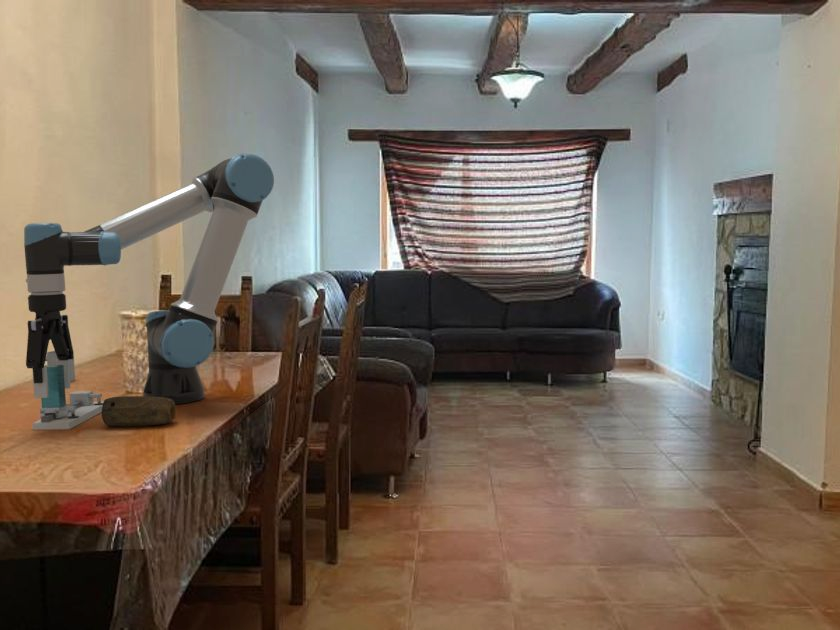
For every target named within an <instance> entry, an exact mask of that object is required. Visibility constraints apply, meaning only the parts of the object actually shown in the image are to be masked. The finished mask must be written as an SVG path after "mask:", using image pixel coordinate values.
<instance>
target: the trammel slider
mask: <svg viewBox="0 0 840 630" xmlns="http://www.w3.org/2000/svg"><path fill="white" fill-rule="evenodd" d="M44 368H47V381H48V396H49V397H48V398H40V401H41V402H40V403H41V407H39V413H40V418H41V417H42V416H44V415H47V414H49V413H55V418H62V417H64V416H66V415H68V411H69V410H71V415H72V416H75V410H76V406H68V403H67V399H66V389H65V381H64V365H47V364H46V365H45V364H44Z"/></svg>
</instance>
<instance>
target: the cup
mask: <svg viewBox="0 0 840 630" xmlns="http://www.w3.org/2000/svg"><path fill="white" fill-rule="evenodd" d="M73 353H74V350H73ZM74 355H75V353H74V354H73V359H68V360H69V371H70V383H73V382H75V380H76V371H75V370H76V369H75V356H74ZM56 360H58V358H57V355H56V352H55V350H53V351H47V354H46V359H45V362H47V363H46V365H56Z"/></svg>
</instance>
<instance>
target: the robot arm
mask: <svg viewBox="0 0 840 630" xmlns="http://www.w3.org/2000/svg"><path fill="white" fill-rule="evenodd" d="M274 177H275V176H274V174H273V170H272V168H271V166H270V164H268V162H267V161H266V160H265V159H264V158H262V157H260V156H259V155H257V154H253V153H239V154H236V155H234V156H233V157H231V158H228V159H227V158H226V159H225V160H223V161H221V162H219V163H217V164H216V165H215V166H213V167H212V168H210V169H208V170H207V171H205V172H204V173H201V174H200V175H198V176H196V177H194V178H193V179H192V181H191V183H190V184H187V185H186V186H182V187H181V188H179V189H176V190H173V191H172V192H169V193H167V194H165V195H163V196H161V197H158V198H157V199H154V200H152V201H149V202H147V203H144V204H143V205H141V206H138V207H136V208H134V209H131V210H130V211H127V212H125V213H123V214H121V215H118V216H115V217H114V218H112V219H109V220H108V221H104V222H102V223H100V224H98V225H97V226H94V227H92V228H90V229H87V230H84V231H79V232H78V231H75V232H74V231H73V232H69V231H63V229H62V228H63V227H62V225H61V224H60V223H58V222H57V223H56V222H55V223H54V222H52V223H51V222H49V223H47V222H42V223H41V222H38V223H37V222H34V223H32V222H31V223H27V224H26V225H25V226H24V229H23V233H24V234H23V235H24V236H23V237H24V238H23V239H24V240H23V241H24V244H23V246H24V247H23V248H24V257H25V270H26V279H25V282H26V283H27V292H28V293H30V295H28V296H27V300H28V301H27V303H28V311H30V312H31V313H35V318H34V320H27V331H28V332H27V344H26V356H25V357H26V358H25V359H26V360H25V366H26V368H27V369H32V382H33V397H34V399H41V398H48V397H49V396H48V381H47V368H44V366H45V364H46V361H45V359H46V356H47V352H48V348H49V344H50V341H51V344H52V346H53V351H55V352H56V355H57V358H58V360H56V365H64V381H65V390H67V389H71V382H70V371H69V360H68V359H73V354H74V355H75V353H73V351H74V349H73V342H72V337H71V334H70V329H69V328H70V327H69V316H68V314H61V312H62V311H66V309H67V297H66V296H67V295H66V294H65V293H64V292H65V291H66V283H65V282H66V281H65V267H66V266H69V267H73V266H108V265H109V266H110V265H118V264H119V263H120V261H121V258H122V257H121V255H122V250H124V249H125V248H128V247H130V246H132V245H135V244H136V243H138V242H141V241H143V240H145V239H147V238H150V237H151V236H154V235H156V234H158V233H160V232H163V231H165V230H166V229H169V228H171V227H173V226H175V225H177V224H180V223H181V222H184V221H186V220H188V219H190V218H193V217H194V216H195V217H196V216H197V215H199V214H202V213H203V212H208V213H212V214H211V216H210V218H209V221H208V224H207V226H206V230H205V232H204V235H203V237H202V240H201V242H200V245H199V248H198V251H197V253H196V255H195V259H194V262H193V264H192V267H191V270H190V272H189V273H188V277H187V279H186V283H185V284H184V288H183V289H182V293H181V295H180V298H179V299H178V300H176V301H174V302H172V303H171V304H170V305H169V308H168V309H167V310H166V309H165V310H163V309H162V310H154V311H151V312H148V313H147V314H146V320H145V321H146V322H145V327H146V338H147V339H146V340H147V358H148V360H147V361H148V373H147V378H146V380H145V384H144V387H143V391H142V396H151V397H164V398H169V399H172V400H173V401H174V402H175V405H181V404H188V403H193V402H197V401H200V400H202V399H204V398H205V396H206V395H205V387H204V385H203V383H202V380H201V377H200V375H199V374H200V373H199V372H198V369H197V366H200V365H201V364H203V363H204V362H205V361H206V360H207V359H209V357H210V356H211V354H212V353H213V349H214V345H215V340H214V339H215V338H214V333H215V329H216V327H217V324H218V321H219V320H218V317H217V315H216V312H215V311H216V308H217V305H218V303H219V301H220V299H221V295H222V292H223V290H224V287H225V284H226V282H227V279H228V276H229V274H230V271H231V268H232V266H233V263H234V261H235V258H236V255H237V252H238V249H239V246H240V245H241V242H242V239H243V236H244V233H245V230H246V228H247V226H248V222H249V221H250V220H252V219H254V218H257V216H258V214H259V211H260V208H261V207H262V203H263V201H264V200H265V199H267V198H268V196H269V195H270V194H271V193H272V190H273V188H274V185H275V178H274Z"/></svg>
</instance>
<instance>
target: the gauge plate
mask: <svg viewBox="0 0 840 630" xmlns="http://www.w3.org/2000/svg"><path fill="white" fill-rule="evenodd" d="M68 395H69V396H68V397H69V404H68V403H67V404H68V406H76V410H75V416H72V415H71V410H69V411H68V415H66V416H64V417H62V418H55V413H49V414H47V415H44V416H42V417H41V416H40V419H38V420H37V421H35V422H32V423H31V424H32V431H43V430H44V431H46V430H47V431H48V430H49V431H50V430H51V431H52V430H53V431H54V430H55V431H56V430H57V431H58V430H71V429H73V428H75V427H76V426H78V425H80V424H83V423H84V422H86V421H88V420H89V419H92V418H93V417H95V416H97V415H99V414H102V407H103V403H104V401H101V398H102V397H103V395H102V393H94V391H93V390H84V391H83V390H82V391H80V390H79V391H77V390H75V391H72V392H70V393H69V394H68ZM94 399H97V401H94Z"/></svg>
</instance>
